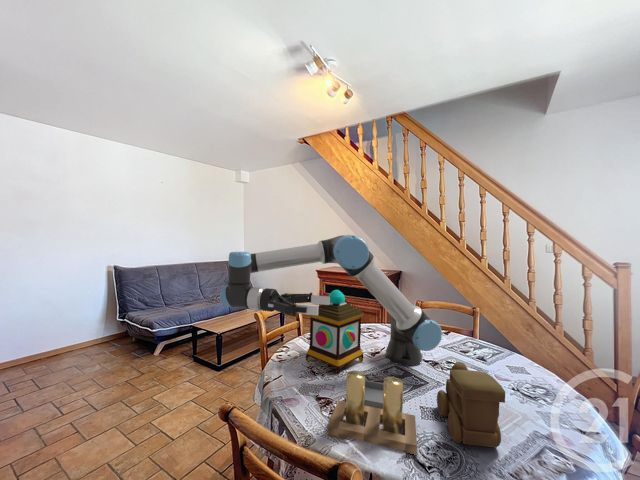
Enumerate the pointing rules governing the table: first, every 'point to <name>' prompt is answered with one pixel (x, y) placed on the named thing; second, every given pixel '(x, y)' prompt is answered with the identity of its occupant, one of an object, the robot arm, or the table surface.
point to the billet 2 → (392, 405)
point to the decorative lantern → (335, 333)
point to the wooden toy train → (472, 406)
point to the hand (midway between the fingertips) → (324, 305)
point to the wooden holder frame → (374, 429)
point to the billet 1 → (355, 398)
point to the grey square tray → (373, 394)
